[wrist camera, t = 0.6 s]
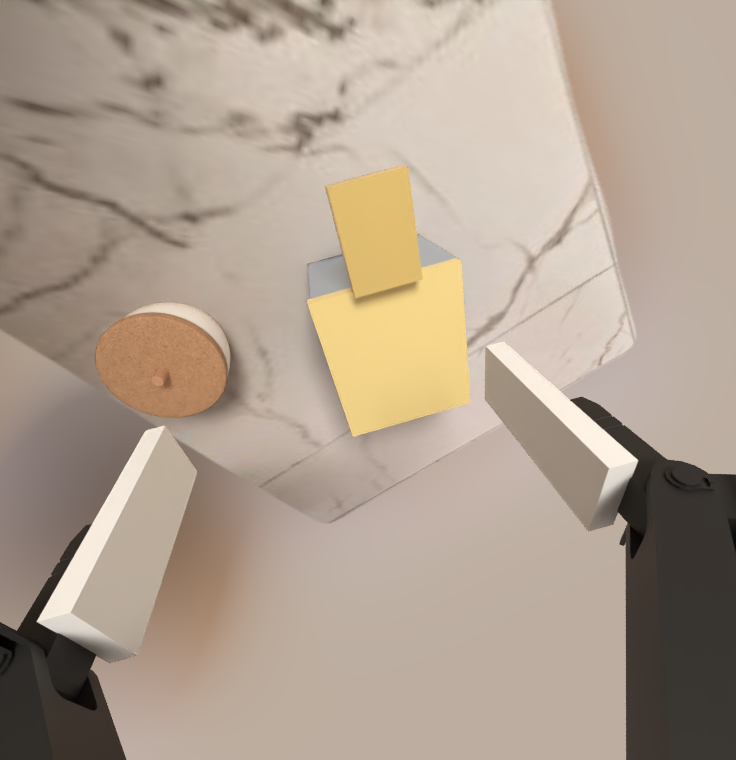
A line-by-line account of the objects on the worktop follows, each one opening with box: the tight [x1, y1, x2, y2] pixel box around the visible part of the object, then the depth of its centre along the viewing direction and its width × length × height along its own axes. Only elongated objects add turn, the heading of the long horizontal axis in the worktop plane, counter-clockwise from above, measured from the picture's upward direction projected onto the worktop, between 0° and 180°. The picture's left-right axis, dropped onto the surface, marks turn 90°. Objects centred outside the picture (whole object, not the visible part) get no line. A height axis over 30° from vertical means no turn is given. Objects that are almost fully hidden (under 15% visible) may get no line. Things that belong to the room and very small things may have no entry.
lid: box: [307, 166, 470, 437], centre depth 27 cm, size 21×12×2 cm, turn 13°
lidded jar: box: [95, 302, 230, 417], centre depth 33 cm, size 11×11×9 cm
